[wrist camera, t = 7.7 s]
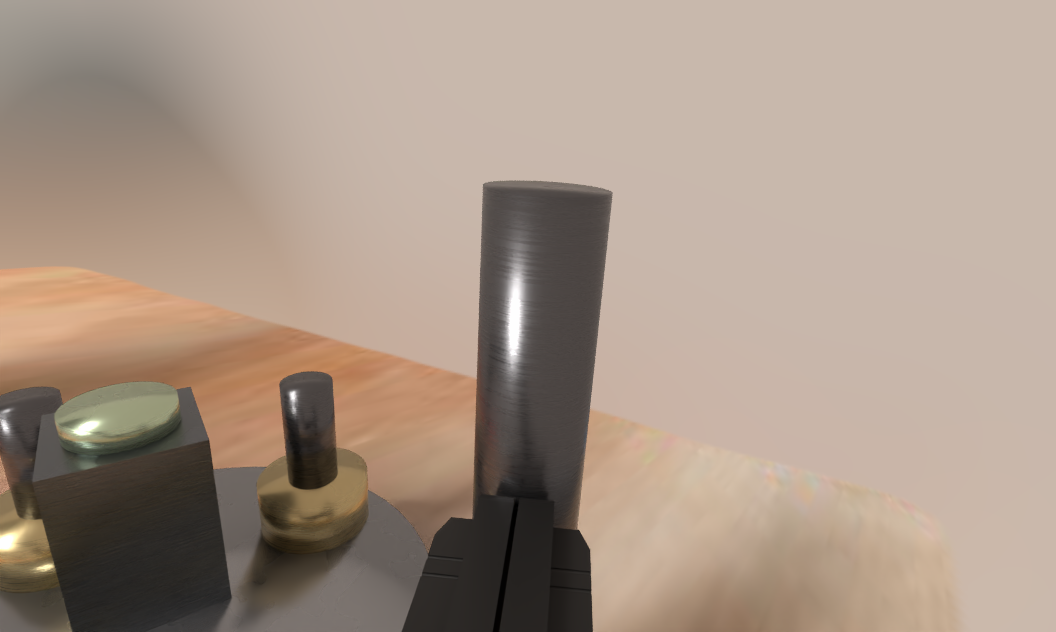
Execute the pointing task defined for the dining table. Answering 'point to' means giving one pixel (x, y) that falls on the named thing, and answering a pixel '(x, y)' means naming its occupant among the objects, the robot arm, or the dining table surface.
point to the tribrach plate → (191, 521)
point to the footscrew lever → (538, 339)
